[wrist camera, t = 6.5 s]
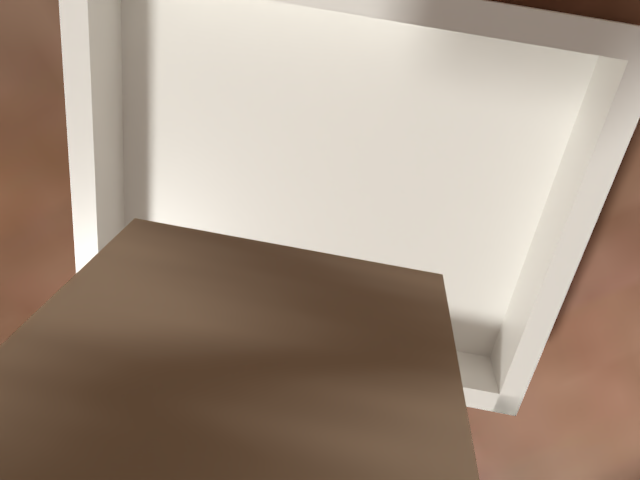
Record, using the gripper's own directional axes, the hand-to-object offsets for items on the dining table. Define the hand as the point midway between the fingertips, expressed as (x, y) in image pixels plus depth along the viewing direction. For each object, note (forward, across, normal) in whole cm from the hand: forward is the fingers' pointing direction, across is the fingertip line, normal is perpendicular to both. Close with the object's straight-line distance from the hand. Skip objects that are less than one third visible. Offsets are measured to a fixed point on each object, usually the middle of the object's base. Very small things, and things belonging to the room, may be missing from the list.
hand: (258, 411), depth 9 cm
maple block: (+1, 0, 0) cm, 1 cm away
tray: (+11, 0, 0) cm, 11 cm away
